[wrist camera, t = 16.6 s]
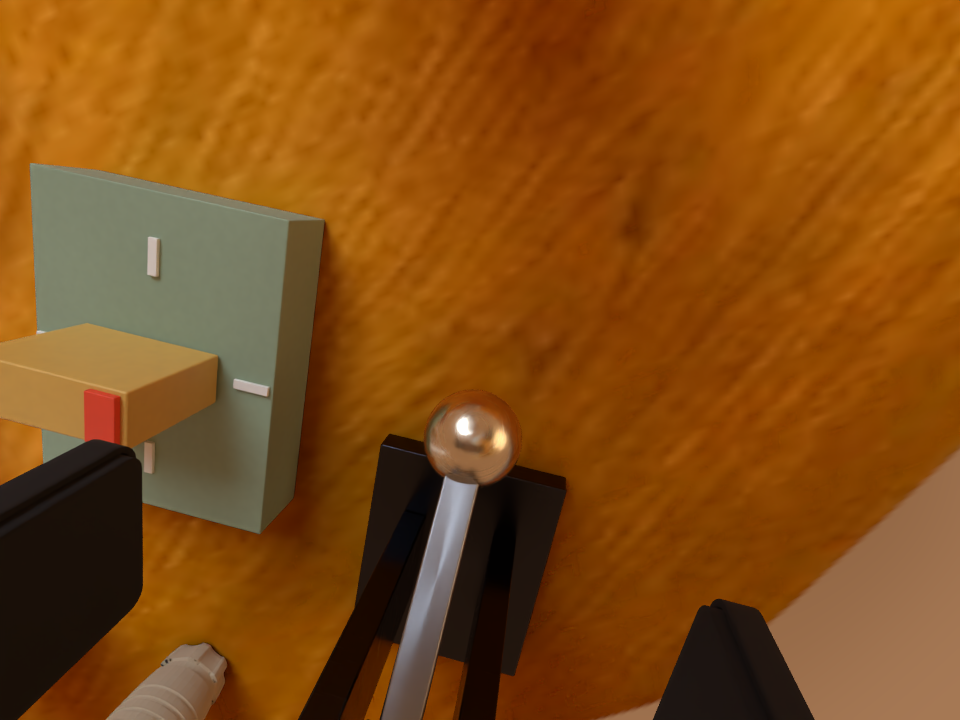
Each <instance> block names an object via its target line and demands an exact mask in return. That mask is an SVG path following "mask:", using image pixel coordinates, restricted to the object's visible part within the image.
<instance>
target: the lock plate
mask: <svg viewBox="0 0 960 720" xmlns="http://www.w3.org/2000/svg"><path fill="white" fill-rule="evenodd" d="M30 179H31V201H32V223H33V245H34V267H35V289H36V311H37V334H41V333H45V332H50V331H54V330H59V329H63V328H67V327H72V326H76V325H81V324H85V323H89V324H93V325H97V326H101V327H105V328H109V329H113V330H117V331H122V332H126V333H130V334H134V335H138V336H142V337H146V338H150V339H154V340H158V341H162V342H166V343H170V344H174V345H178V346H182V347H186V348H191V349H195V350H199V351H203V352H207V353H211V354H215V355H218V369H217V385H216V401H215V403H213V404H211V405H210V406H208V407H206V408H204V409H202V410H200V411H199V412H197V413H195V414H193V415H191V416H190V417H188V418H186V419H184V420H182V421H180V422H179V423H177V424H175V425H173V426H171V427H169V428H168V429H166V430H164V431H162V432H160V433H158V434H157V435H155V436H153V437H151V438H149V439H148V440H146V441H144V442H142V443H140V444H138V445H137V446H135V447H133V448H131V449H133V450H134V452H135V454H136V458H137V459H139V460H140V462H141V464H142V503H146V504H150V505H153V506H157V507H161V508H164V509H168V510H172V511H176V512H179V513H183V514H187V515H190V516H194V517H198V518H202V519H205V520H209V521H213V522H216V523H220V524H224V525H228V526H231V527H235V528H239V529H242V530H246V531H250V532H254V533H257V534H261V533H262V531H263V530H264V529H265V528H266V527H267V526H268V525H269V524H270V523H271V522H272V521H273V520H274V519H275V517H276V516H277V515H278V514H279V513H280V512H281V511H282V510H283V509H284V508H285V507H286V506H287V505H288V503H289V502H290V501H291V500H292V499H293V498H294V491H295V482H296V473H297V464H298V455H299V446H300V437H301V428H302V419H303V410H304V401H305V392H306V383H307V374H308V366H309V357H310V348H311V339H312V330H313V321H314V312H315V303H316V294H317V285H318V276H319V267H320V258H321V249H322V241H323V232H324V223H325V220H324V219H319V218H314V217H310V216H305V215H301V214H296V213H292V212H287V211H283V210H278V209H273V208H269V207H264V206H260V205H255V204H251V203H246V202H241V201H237V200H232V199H228V198H223V197H219V196H214V195H210V194H205V193H200V192H196V191H191V190H187V189H182V188H178V187H173V186H169V185H164V184H159V183H155V182H150V181H146V180H141V179H137V178H132V177H127V176H123V175H118V174H114V173H109V172H105V171H100V170H93V169H83V168H73V167H63V166H54V165H44V164H34V163H31V164H30ZM83 443H85V440H82V439H78V438H75V437H71V436H67V435H63V434H60V433H56V432H52V431H48V430H44V429H42V444H43V464H44V463H46V462H47V461H49V460H51V459H53V458H55V457H57V456H59V455H61V454H63V453H65V452H67V451H69V450H71V449H73V448H75V447H77V446H79V445H81V444H83Z"/></svg>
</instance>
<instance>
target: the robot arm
mask: <svg viewBox="0 0 960 720" xmlns="http://www.w3.org/2000/svg"><path fill="white" fill-rule="evenodd" d="M142 587H143V531H142V464H141V462H140V460H139V459H137V458H136V454H135V452H134V450H133V449H131V448H130V447H127V446H123V445H119V444H115V443H111V442H107V441H104V440H100V439H92V440H90V441H87V442H85V443H83V444H81V445H79V446H77V447H75V448H73V449H71V450H69V451H67V452H65V453H63V454H61V455H59V456H57V457H55V458H53V459H51V460H49V461H47V462H46V463H44V464H42V465H40V466H38V467H36V468H34V469H32V470H30V471H28V472H26V473H24V474H22V475H20V476H18V477H16V478H14V479H12V480H10V481H8V482H6V483H4V484H2V485H1V486H0V720H17V719H18V718H19V717H20V716H22V715H23V714H24V713H25V712H26V711H27V710H28V709H29V708H30V707H31V706H32V705H33V704H34V703H35V702H36V701H37V700H38V699H39V698H40V697H41V696H42V695H43V694H44V693H45V692H46V691H47V690H49V689H50V688H51V687H52V686H53V685H54V684H55V683H56V682H57V681H58V680H59V679H60V678H61V677H62V676H63V675H64V674H65V673H66V672H67V671H68V670H69V669H70V668H71V667H72V666H73V665H74V664H75V663H77V662H78V661H79V660H80V659H81V658H82V657H83V656H84V655H85V654H86V653H87V652H88V651H89V650H90V649H91V648H92V647H93V646H94V645H95V644H96V643H97V642H98V641H99V640H100V639H101V638H102V637H104V636H105V635H106V634H107V633H108V632H109V631H110V630H111V629H112V628H113V627H114V626H115V625H116V624H117V623H118V622H119V621H120V620H121V619H122V618H123V617H124V616H125V615H126V614H127V613H128V612H129V611H130V610H131V609H132V608H133V607H134V606H135V604H136V603H137V601H138V599H139V597H140V595H141V592H142ZM653 720H814V718H813V715H812V714H811V712H810V710H809V708H808V706H807V704H806V702H805V700H804V698H803V696H802V694H801V692H800V690H799V688H798V686H797V684H796V682H795V680H794V678H793V676H792V674H791V672H790V670H789V668H788V666H787V664H786V662H785V660H784V658H783V656H782V654H781V652H780V650H779V648H778V646H777V644H776V642H775V640H774V638H773V636H772V634H771V632H770V631H769V628H768V626H767V624H766V622H765V620H764V618H763V616H762V615H761V613H760V612H759V610H757V609H755V608H753V607H749V606H745V605H741V604H737V603H733V602H730V601H726V600H722V599H716V600H714V601H713V602H712V604H711V605H710V606H706V605H703V606H701V607H700V608H699V610H698V612H697V614H696V617H695V619H694V621H693V624H692V626H691V629H690V631H689V633H688V636H687V638H686V641H685V643H684V646H683V648H682V650H681V653H680V655H679V658H678V660H677V663H676V665H675V667H674V670H673V672H672V675H671V677H670V679H669V682H668V684H667V687H666V689H665V692H664V694H663V696H662V699H661V701H660V704H659V706H658V709H657V711H656V713H655V716H654V718H653Z"/></svg>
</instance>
